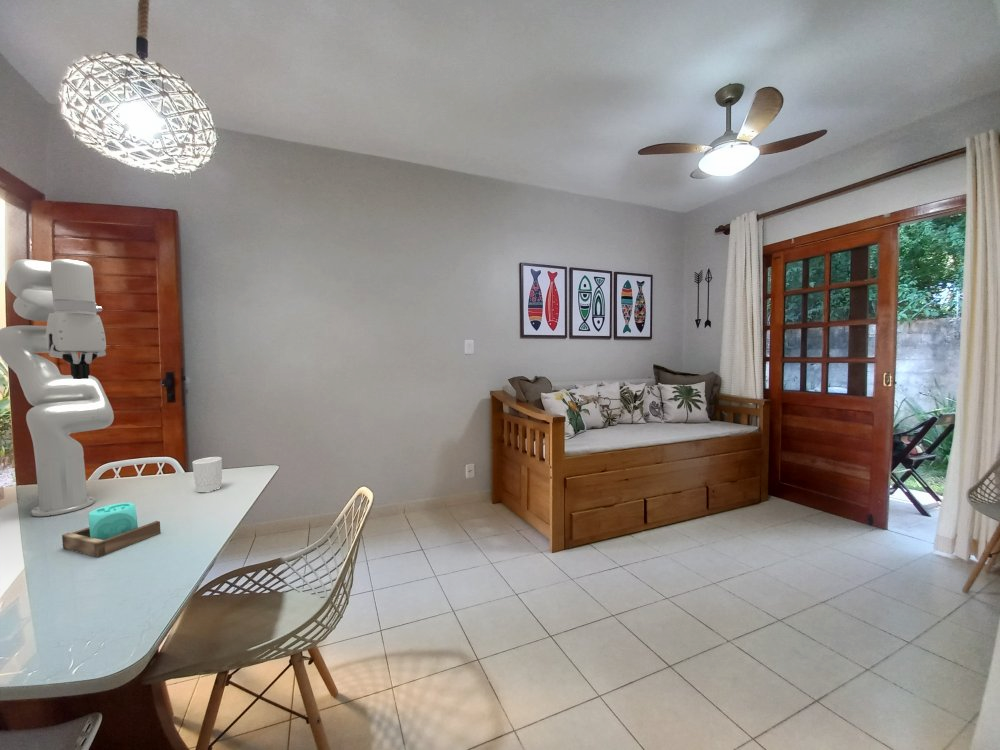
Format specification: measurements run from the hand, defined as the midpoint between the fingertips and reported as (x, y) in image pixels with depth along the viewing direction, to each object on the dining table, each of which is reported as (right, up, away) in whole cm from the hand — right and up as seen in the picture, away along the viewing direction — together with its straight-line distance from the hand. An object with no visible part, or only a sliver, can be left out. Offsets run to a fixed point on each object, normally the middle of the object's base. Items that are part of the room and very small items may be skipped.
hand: (81, 378), depth 103 cm
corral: (+16, -39, -7) cm, 43 cm away
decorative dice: (+16, -40, -7) cm, 44 cm away
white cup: (+13, -38, +28) cm, 48 cm away
